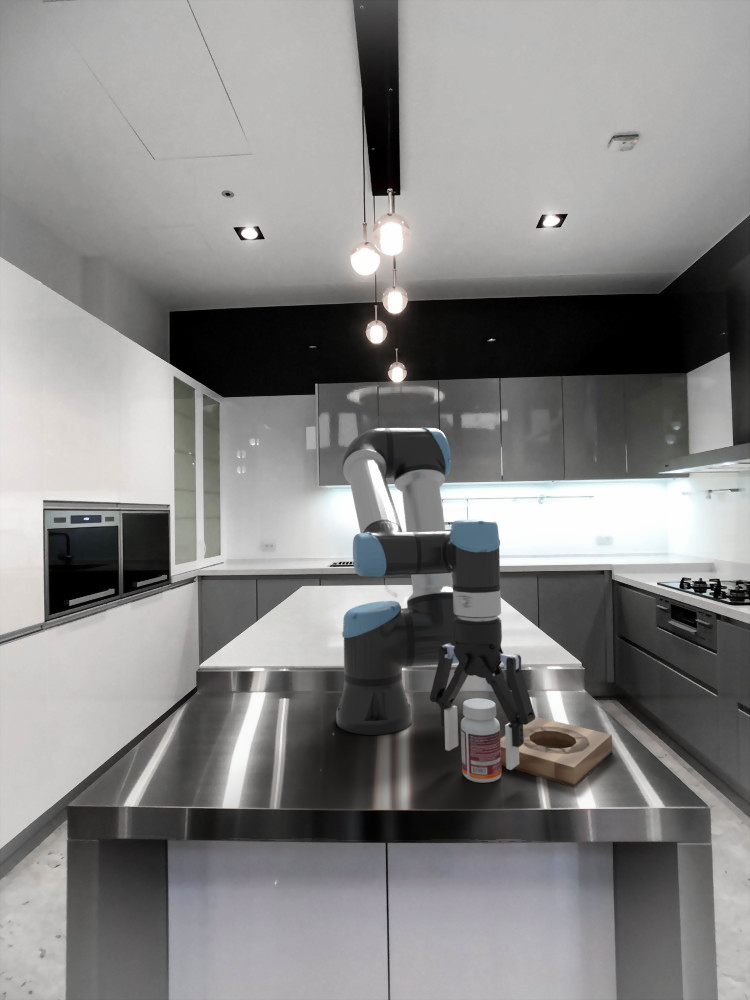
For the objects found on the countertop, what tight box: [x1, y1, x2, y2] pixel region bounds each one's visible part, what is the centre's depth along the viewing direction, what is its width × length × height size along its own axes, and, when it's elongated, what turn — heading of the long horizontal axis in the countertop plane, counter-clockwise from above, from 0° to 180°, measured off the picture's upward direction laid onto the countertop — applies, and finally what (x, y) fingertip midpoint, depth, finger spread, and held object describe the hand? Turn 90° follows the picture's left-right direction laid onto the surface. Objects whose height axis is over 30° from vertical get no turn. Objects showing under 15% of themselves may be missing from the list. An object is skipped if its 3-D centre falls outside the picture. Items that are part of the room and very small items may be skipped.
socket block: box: [500, 716, 613, 788], centre depth 97 cm, size 14×16×3 cm
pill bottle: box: [460, 697, 502, 784], centre depth 91 cm, size 6×6×11 cm
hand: (481, 756), depth 91 cm, fingers open, 10 cm apart
